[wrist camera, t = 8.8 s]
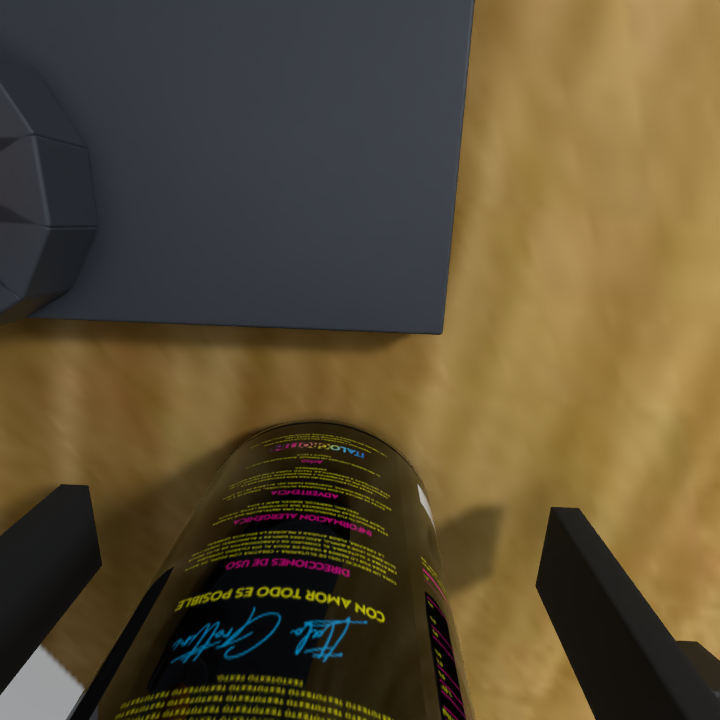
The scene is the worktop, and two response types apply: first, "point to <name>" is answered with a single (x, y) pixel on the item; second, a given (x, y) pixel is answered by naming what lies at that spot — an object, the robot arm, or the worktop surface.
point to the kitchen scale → (231, 161)
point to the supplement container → (294, 595)
